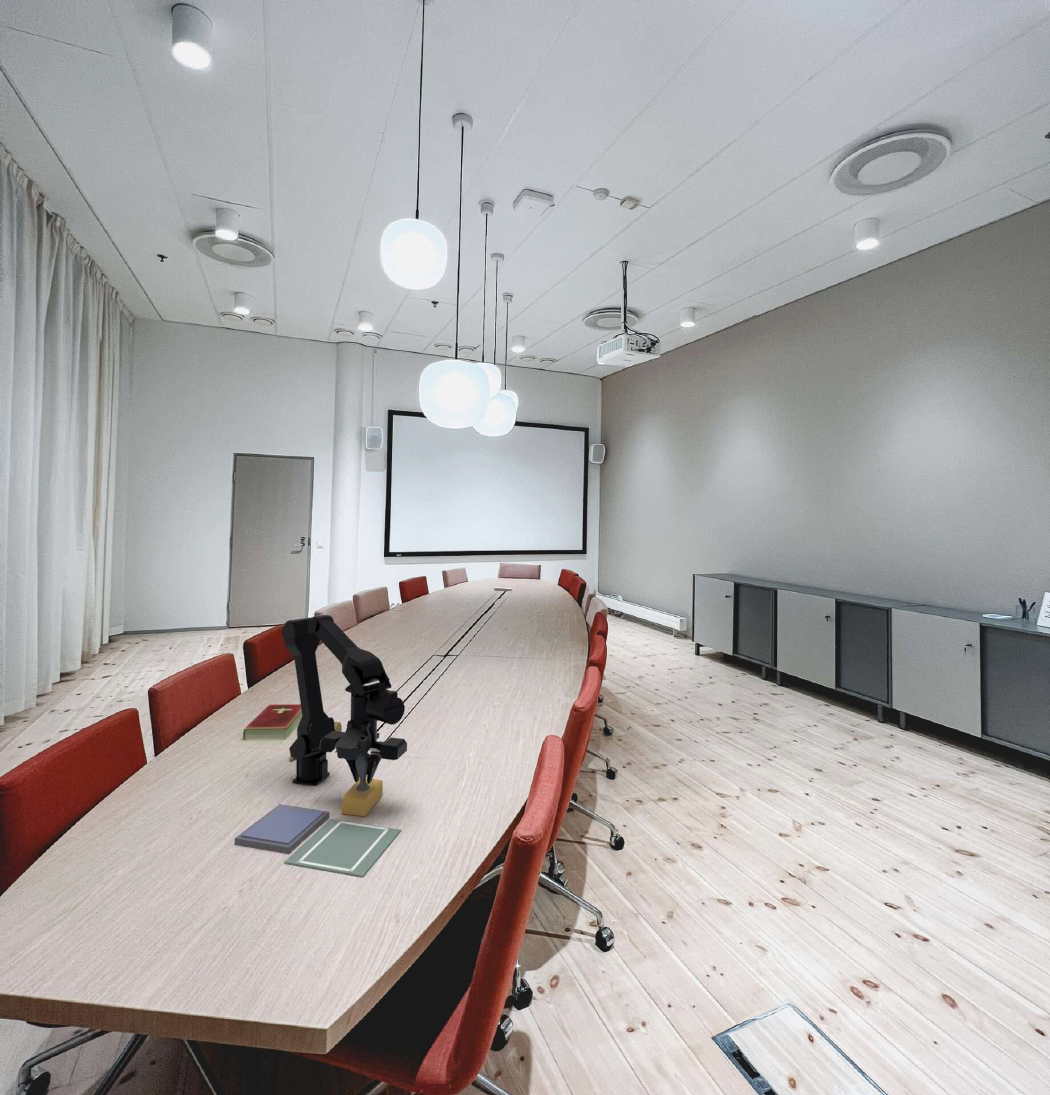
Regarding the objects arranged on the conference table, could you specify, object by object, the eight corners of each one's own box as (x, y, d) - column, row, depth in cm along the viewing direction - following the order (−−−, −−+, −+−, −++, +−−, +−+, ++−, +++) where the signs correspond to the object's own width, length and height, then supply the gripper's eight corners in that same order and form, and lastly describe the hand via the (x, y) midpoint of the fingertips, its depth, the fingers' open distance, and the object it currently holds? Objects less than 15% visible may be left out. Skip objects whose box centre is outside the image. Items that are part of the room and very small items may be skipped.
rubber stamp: (365, 816, 125) (366, 762, 124) (340, 814, 126) (341, 759, 125) (383, 795, 135) (383, 744, 134) (359, 792, 135) (360, 742, 135)
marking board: (284, 863, 107) (284, 861, 107) (331, 820, 123) (331, 818, 123) (363, 877, 104) (363, 875, 104) (401, 831, 119) (401, 829, 119)
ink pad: (234, 844, 113) (234, 836, 113) (279, 809, 127) (279, 802, 127) (289, 853, 110) (289, 845, 110) (329, 817, 124) (329, 810, 124)
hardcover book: (242, 741, 165) (243, 727, 164) (267, 716, 185) (268, 703, 185) (286, 741, 166) (286, 726, 166) (306, 716, 187) (306, 703, 186)
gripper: (305, 721, 123) (304, 793, 124) (386, 730, 119) (385, 805, 120) (333, 705, 134) (332, 771, 135) (408, 713, 130) (407, 781, 131)
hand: (363, 782), depth 130 cm, fingers closed on rubber stamp, 3 cm apart
